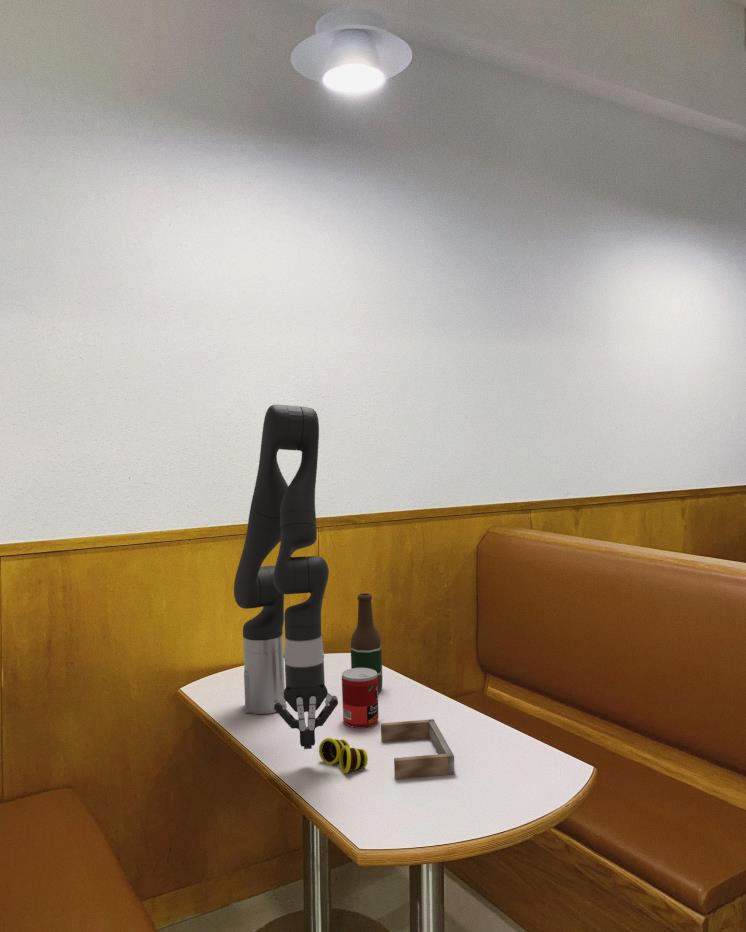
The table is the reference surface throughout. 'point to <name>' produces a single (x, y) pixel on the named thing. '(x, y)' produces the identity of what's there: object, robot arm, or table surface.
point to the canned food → (360, 697)
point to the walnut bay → (419, 764)
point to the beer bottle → (366, 640)
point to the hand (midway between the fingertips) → (307, 747)
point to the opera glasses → (342, 754)
